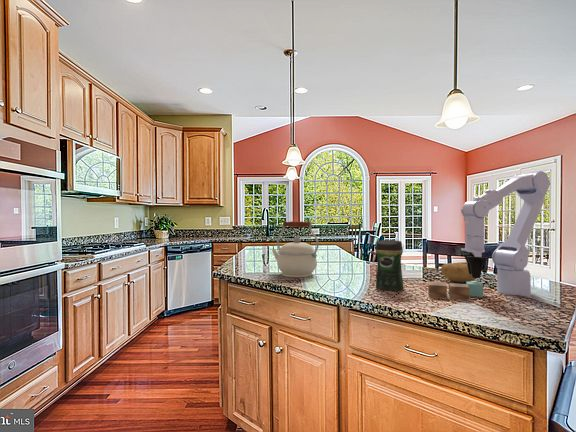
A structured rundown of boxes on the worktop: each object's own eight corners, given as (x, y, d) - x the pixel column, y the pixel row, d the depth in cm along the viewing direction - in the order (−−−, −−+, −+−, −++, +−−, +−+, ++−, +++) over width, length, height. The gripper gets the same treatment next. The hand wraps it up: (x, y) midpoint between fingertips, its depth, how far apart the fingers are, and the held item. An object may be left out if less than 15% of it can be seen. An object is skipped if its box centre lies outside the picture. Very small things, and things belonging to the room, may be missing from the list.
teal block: (480, 294, 119) (480, 282, 119) (483, 296, 115) (483, 284, 115) (466, 292, 120) (466, 281, 120) (468, 295, 116) (468, 283, 116)
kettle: (327, 274, 162) (326, 221, 162) (308, 280, 147) (307, 221, 147) (282, 269, 176) (282, 220, 176) (260, 275, 160) (260, 221, 160)
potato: (442, 278, 150) (442, 260, 150) (479, 282, 143) (479, 262, 143) (438, 282, 142) (438, 263, 142) (477, 286, 135) (477, 265, 135)
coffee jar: (405, 289, 129) (405, 239, 129) (399, 293, 122) (399, 241, 122) (379, 286, 134) (379, 238, 134) (373, 290, 127) (373, 240, 127)
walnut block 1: (445, 294, 118) (445, 282, 118) (446, 298, 113) (446, 286, 113) (428, 293, 120) (428, 281, 120) (428, 296, 114) (428, 284, 114)
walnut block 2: (466, 296, 115) (466, 284, 115) (469, 299, 110) (469, 287, 110) (448, 294, 117) (448, 283, 117) (450, 298, 112) (450, 286, 112)
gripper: (459, 234, 126) (458, 272, 126) (464, 237, 112) (464, 278, 112) (480, 235, 123) (480, 273, 123) (489, 237, 110) (488, 280, 110)
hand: (474, 276), depth 118 cm, fingers open, 7 cm apart
